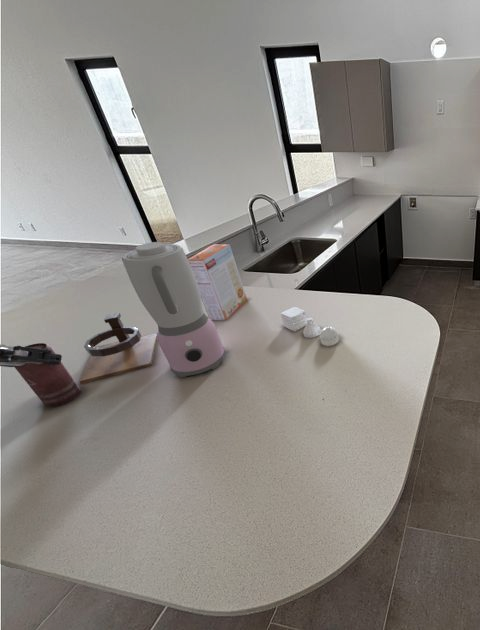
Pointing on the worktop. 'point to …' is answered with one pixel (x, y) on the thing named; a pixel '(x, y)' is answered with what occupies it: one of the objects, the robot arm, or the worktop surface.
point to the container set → (308, 326)
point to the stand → (118, 351)
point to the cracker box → (218, 281)
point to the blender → (175, 307)
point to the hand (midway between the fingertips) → (37, 361)
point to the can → (49, 380)
